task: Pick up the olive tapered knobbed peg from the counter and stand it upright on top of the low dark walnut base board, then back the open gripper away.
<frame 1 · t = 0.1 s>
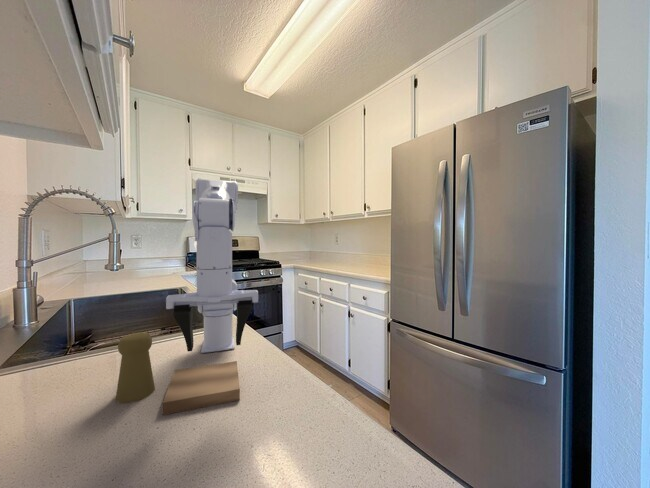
hand: (215, 346, 47), 10 cm above the countertop, tool pointing down, fingers open, 7 cm apart
olive tapered knobbed peg: (135, 394, 51), on the countertop
walnut base: (205, 389, 52), on the countertop
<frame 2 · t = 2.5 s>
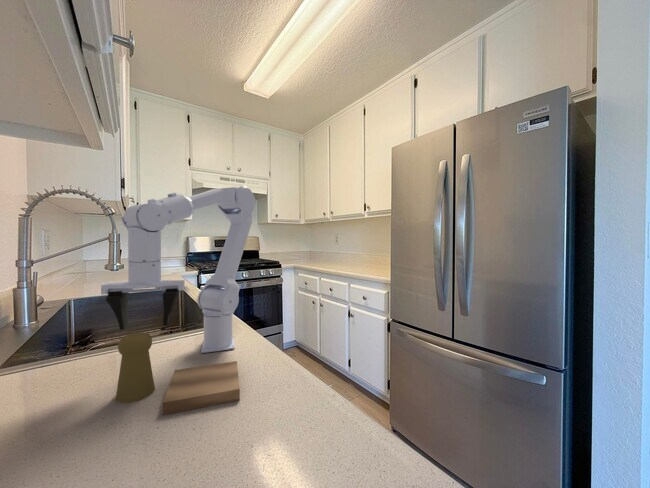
hand: (145, 326, 57), 10 cm above the countertop, tool pointing down, fingers open, 7 cm apart
nothing on the countertop moved.
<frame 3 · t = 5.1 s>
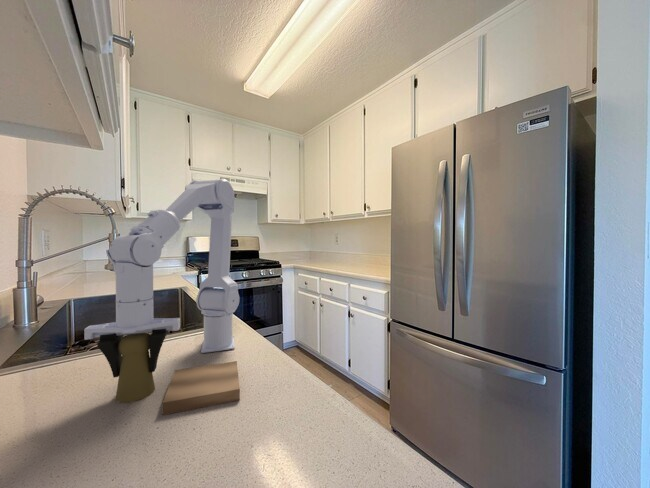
hand: (135, 372, 51), 4 cm above the countertop, tool pointing down, fingers closed on olive tapered knobbed peg, 5 cm apart
olive tapered knobbed peg: (135, 394, 51), on the countertop, touching gripper
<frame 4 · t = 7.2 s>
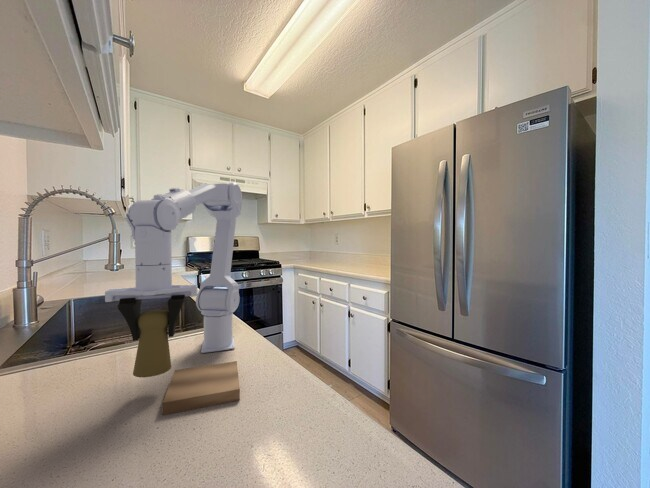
hand: (154, 337, 51), 10 cm above the countertop, tool pointing down, fingers closed on olive tapered knobbed peg, 5 cm apart
olive tapered knobbed peg: (152, 371, 51), point 4 cm above the countertop, touching gripper
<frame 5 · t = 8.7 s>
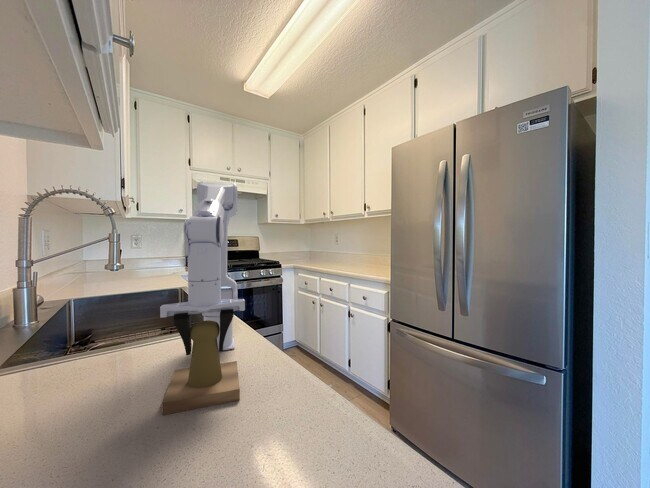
hand: (205, 350, 52), 7 cm above the countertop, tool pointing down, fingers closed on olive tapered knobbed peg, 5 cm apart
olive tapered knobbed peg: (205, 380, 52), point 2 cm above the countertop, touching gripper, walnut base
when the fingers open (7 cm above the countertop, at t = 9.3 s): olive tapered knobbed peg stays where it is, resting on walnut base.
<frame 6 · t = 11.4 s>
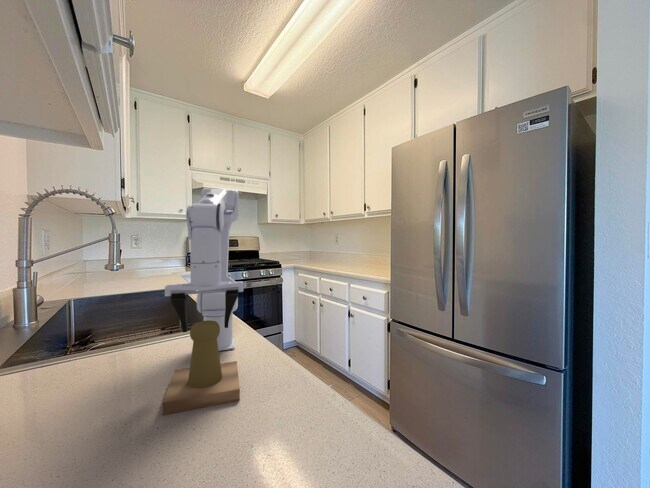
hand: (206, 328, 56), 10 cm above the countertop, tool pointing down, fingers open, 7 cm apart
olive tapered knobbed peg: (205, 380, 52), point 2 cm above the countertop, touching walnut base
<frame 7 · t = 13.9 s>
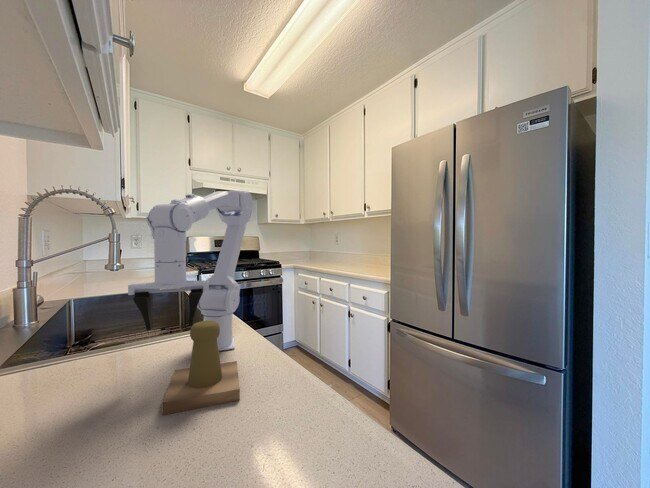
hand: (170, 326, 57), 10 cm above the countertop, tool pointing down, fingers open, 7 cm apart
nothing on the countertop moved.
at the end: olive tapered knobbed peg inside the target area on the walnut base (0.4 cm from its centre), point 1.8 cm above the walnut base's base; olive tapered knobbed peg tilted 0°; the gripper is holding nothing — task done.
